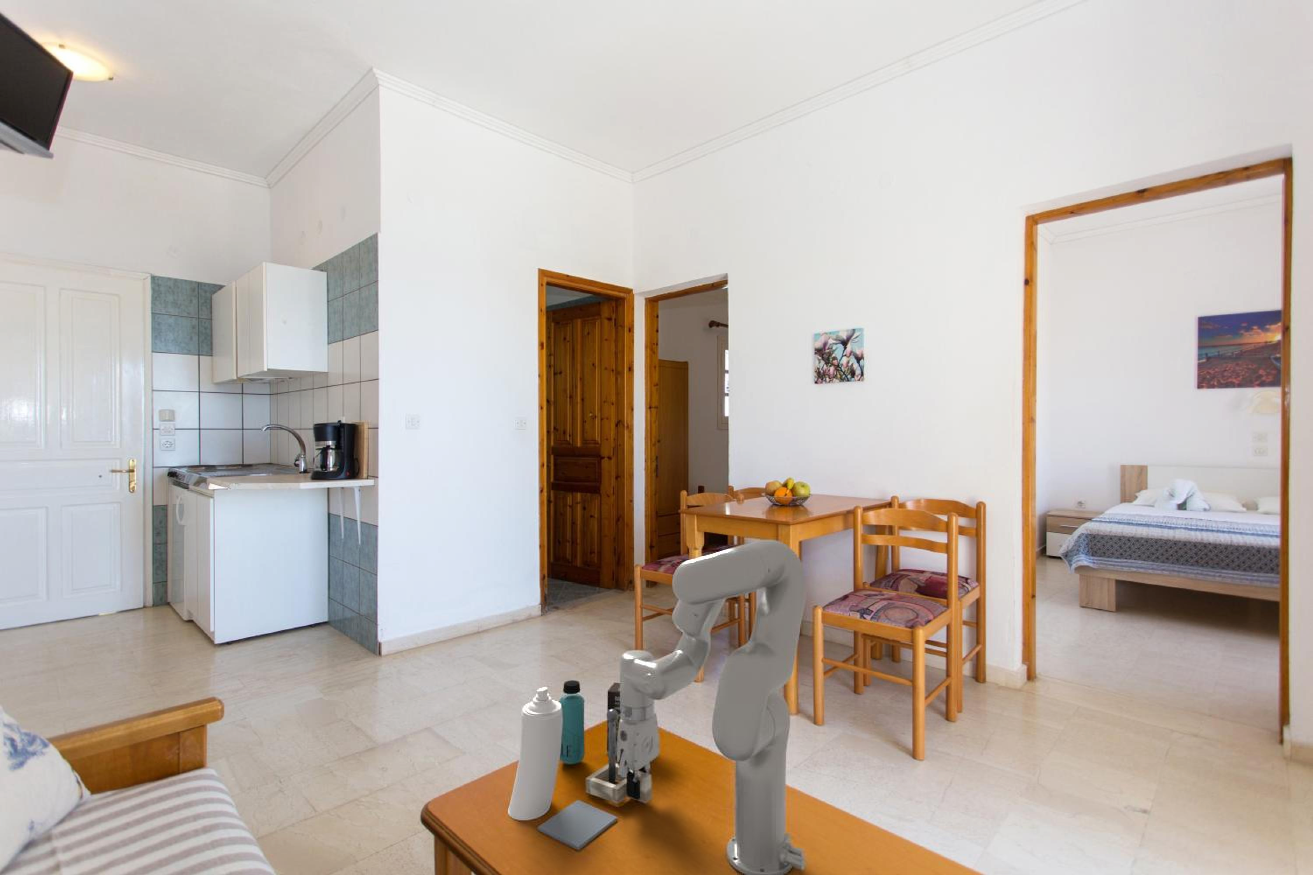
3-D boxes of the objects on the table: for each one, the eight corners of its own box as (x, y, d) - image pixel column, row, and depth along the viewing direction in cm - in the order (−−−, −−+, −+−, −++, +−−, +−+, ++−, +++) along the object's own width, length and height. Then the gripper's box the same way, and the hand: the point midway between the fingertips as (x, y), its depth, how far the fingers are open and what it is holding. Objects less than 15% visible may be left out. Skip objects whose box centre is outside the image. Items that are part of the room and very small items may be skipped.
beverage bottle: (587, 757, 158) (587, 677, 158) (581, 771, 152) (582, 687, 152) (561, 756, 159) (562, 676, 159) (555, 770, 152) (555, 686, 152)
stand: (627, 790, 143) (627, 708, 143) (613, 800, 139) (613, 716, 139) (610, 783, 146) (610, 702, 146) (596, 793, 142) (596, 710, 142)
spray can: (521, 788, 144) (522, 678, 144) (567, 792, 143) (567, 680, 143) (501, 818, 133) (502, 698, 133) (550, 823, 131) (551, 701, 131)
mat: (617, 819, 132) (617, 816, 132) (578, 850, 123) (578, 846, 123) (577, 802, 139) (577, 799, 139) (537, 829, 129) (537, 826, 129)
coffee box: (605, 754, 160) (606, 690, 160) (613, 743, 166) (613, 681, 166) (641, 759, 158) (641, 694, 158) (647, 746, 164) (647, 684, 164)
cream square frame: (660, 791, 141) (659, 768, 141) (636, 810, 133) (635, 786, 133) (611, 774, 149) (610, 753, 149) (585, 791, 141) (585, 769, 141)
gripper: (628, 727, 130) (628, 817, 130) (671, 701, 143) (672, 783, 143) (600, 718, 134) (600, 805, 134) (644, 693, 148) (645, 773, 147)
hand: (637, 793), depth 139 cm, fingers closed on cream square frame
